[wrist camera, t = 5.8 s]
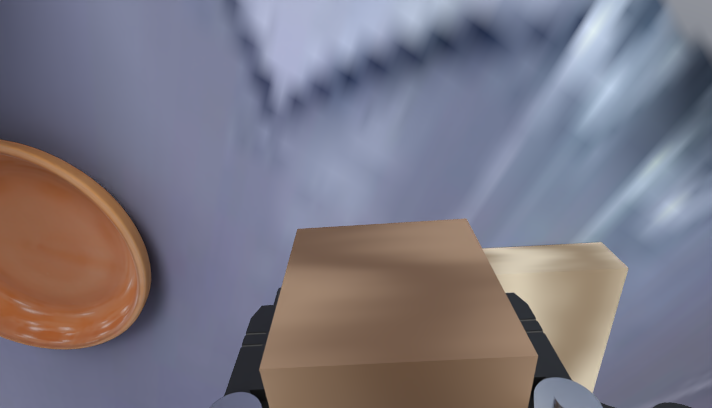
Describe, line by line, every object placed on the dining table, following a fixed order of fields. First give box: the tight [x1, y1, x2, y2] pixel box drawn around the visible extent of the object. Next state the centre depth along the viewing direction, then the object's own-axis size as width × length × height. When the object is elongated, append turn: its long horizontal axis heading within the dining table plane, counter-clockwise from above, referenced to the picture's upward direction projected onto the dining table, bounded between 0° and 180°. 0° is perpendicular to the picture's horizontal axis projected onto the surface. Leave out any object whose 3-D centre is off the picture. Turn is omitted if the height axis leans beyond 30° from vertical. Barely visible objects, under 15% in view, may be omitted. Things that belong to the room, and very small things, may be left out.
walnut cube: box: [259, 219, 538, 408], centre depth 10 cm, size 5×5×5 cm
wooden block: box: [483, 242, 628, 393], centre depth 29 cm, size 20×14×3 cm
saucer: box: [0, 139, 151, 349], centre depth 26 cm, size 16×16×3 cm
